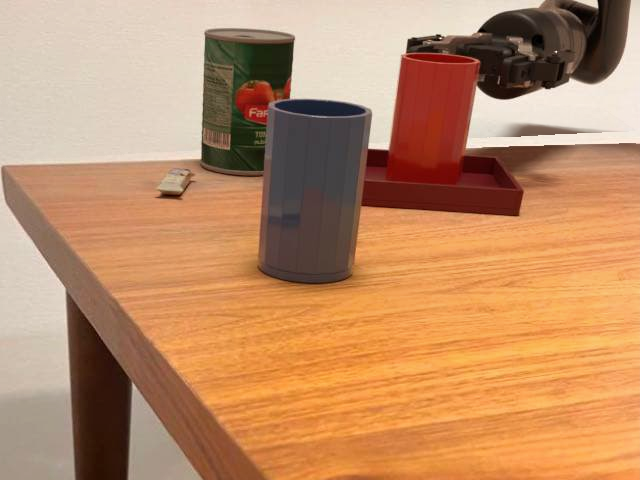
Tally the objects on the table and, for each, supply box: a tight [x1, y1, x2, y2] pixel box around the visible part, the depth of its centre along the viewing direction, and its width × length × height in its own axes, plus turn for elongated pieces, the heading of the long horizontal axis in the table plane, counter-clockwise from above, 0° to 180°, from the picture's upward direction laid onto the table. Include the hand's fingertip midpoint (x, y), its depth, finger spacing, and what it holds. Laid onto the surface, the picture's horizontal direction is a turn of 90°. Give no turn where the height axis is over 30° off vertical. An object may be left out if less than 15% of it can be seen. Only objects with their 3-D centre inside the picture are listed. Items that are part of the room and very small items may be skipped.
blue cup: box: [257, 98, 373, 284], centre depth 63 cm, size 6×6×10 cm
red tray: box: [361, 147, 525, 217], centre depth 84 cm, size 15×13×2 cm
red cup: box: [385, 52, 481, 185], centre depth 82 cm, size 6×6×10 cm
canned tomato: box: [199, 27, 296, 177], centre depth 87 cm, size 8×8×11 cm
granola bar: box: [154, 167, 196, 196], centre depth 81 cm, size 7×1×3 cm
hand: (456, 67), depth 82 cm, fingers open, 8 cm apart
